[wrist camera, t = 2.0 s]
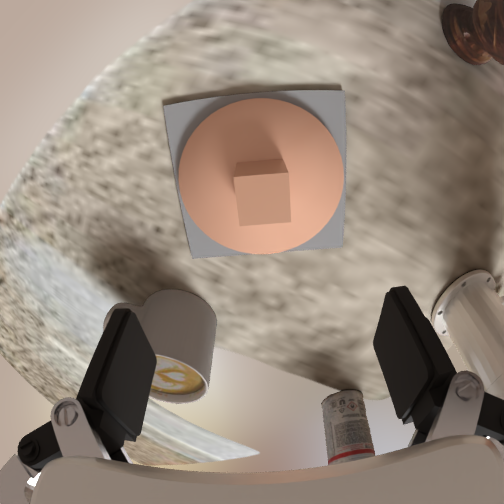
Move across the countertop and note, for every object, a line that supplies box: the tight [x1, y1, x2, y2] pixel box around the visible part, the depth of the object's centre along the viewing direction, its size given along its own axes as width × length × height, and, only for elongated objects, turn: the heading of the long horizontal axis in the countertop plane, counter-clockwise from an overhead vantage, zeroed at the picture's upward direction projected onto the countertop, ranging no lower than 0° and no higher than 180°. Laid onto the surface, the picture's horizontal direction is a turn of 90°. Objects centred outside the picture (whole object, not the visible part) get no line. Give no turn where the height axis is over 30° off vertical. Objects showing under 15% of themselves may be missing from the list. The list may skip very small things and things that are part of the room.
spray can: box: [321, 390, 375, 466], centre depth 39 cm, size 8×8×20 cm
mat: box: [163, 90, 346, 259], centre depth 26 cm, size 16×16×1 cm
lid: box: [179, 98, 344, 254], centre depth 24 cm, size 15×15×6 cm
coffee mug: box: [103, 289, 217, 404], centre depth 32 cm, size 13×10×10 cm
